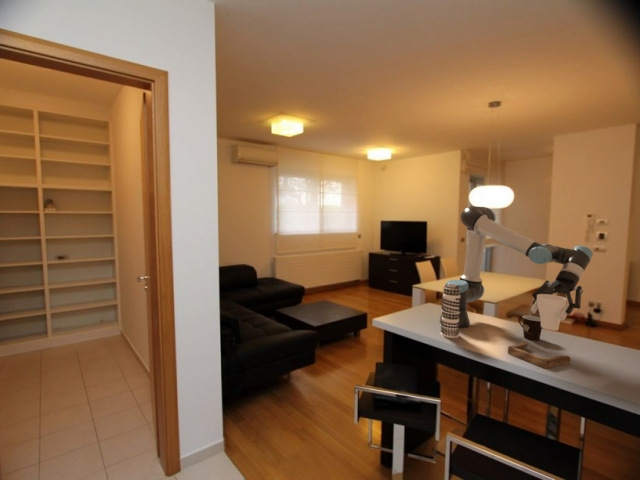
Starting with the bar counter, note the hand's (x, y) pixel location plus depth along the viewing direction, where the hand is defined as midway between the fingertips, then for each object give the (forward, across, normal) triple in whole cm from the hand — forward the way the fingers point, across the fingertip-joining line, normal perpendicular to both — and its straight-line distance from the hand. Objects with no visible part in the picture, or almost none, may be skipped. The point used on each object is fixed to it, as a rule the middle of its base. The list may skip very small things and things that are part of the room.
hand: (546, 315), depth 134 cm
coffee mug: (0, +16, -26) cm, 30 cm away
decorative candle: (+24, +35, -2) cm, 42 cm away
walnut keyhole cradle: (+16, 0, -9) cm, 18 cm away
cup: (+2, 0, -6) cm, 7 cm away
